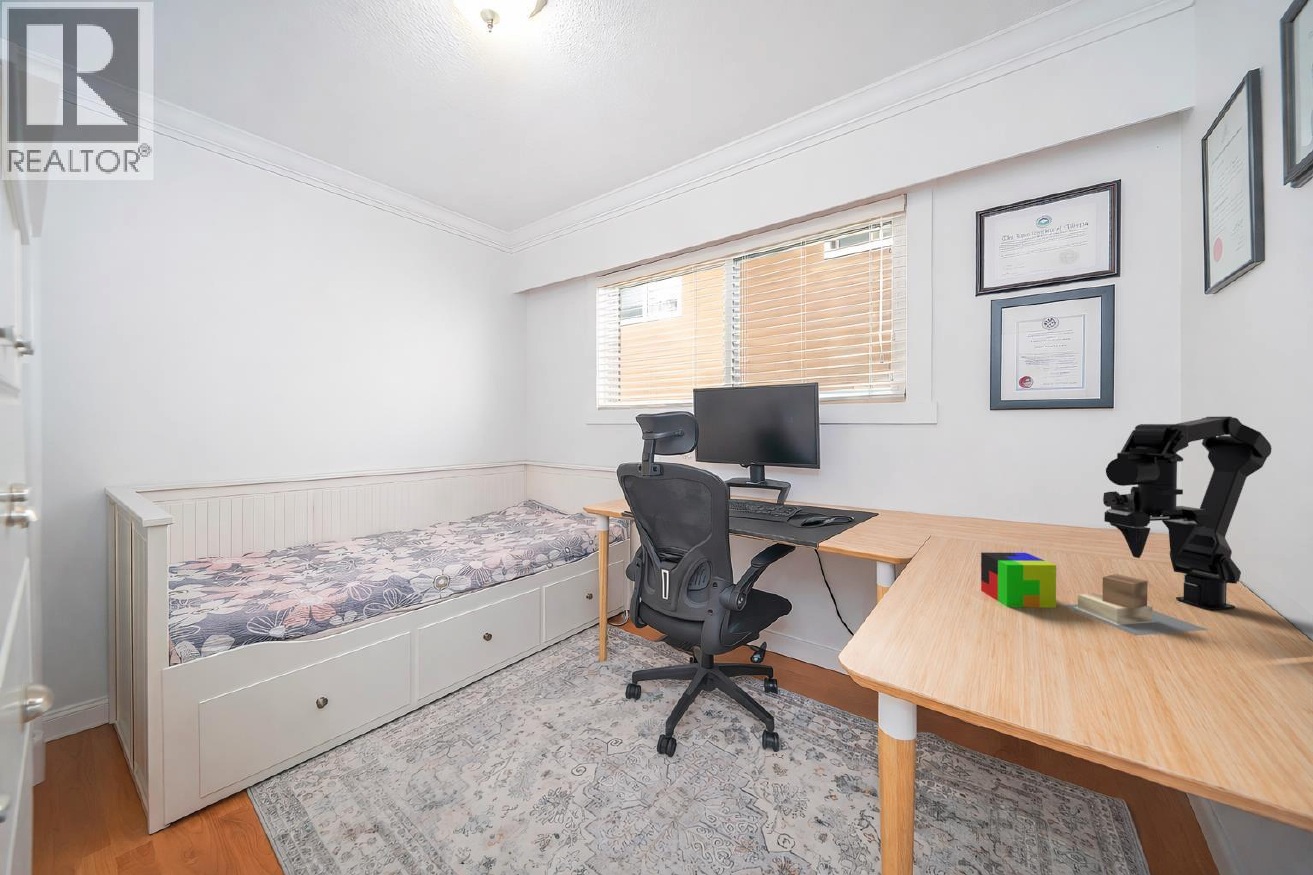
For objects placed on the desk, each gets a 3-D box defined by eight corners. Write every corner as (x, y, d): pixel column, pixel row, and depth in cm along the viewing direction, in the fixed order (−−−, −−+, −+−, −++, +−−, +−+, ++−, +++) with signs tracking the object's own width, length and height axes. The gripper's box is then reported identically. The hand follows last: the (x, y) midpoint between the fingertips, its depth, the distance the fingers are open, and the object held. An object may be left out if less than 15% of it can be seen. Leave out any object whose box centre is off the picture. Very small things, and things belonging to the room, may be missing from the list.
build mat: (1125, 603, 108) (1125, 600, 108) (1209, 632, 93) (1209, 629, 93) (1060, 607, 106) (1060, 605, 106) (1135, 638, 92) (1135, 635, 92)
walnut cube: (1116, 597, 103) (1116, 573, 102) (1147, 605, 98) (1147, 580, 98) (1102, 600, 101) (1102, 576, 101) (1133, 609, 96) (1133, 584, 96)
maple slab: (1110, 605, 105) (1111, 592, 105) (1152, 620, 98) (1152, 606, 97) (1077, 608, 105) (1078, 594, 105) (1116, 623, 97) (1117, 608, 97)
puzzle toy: (1025, 594, 115) (1025, 552, 115) (1055, 610, 105) (1056, 565, 105) (981, 593, 116) (981, 552, 116) (1006, 609, 106) (1007, 564, 106)
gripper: (1153, 477, 111) (1151, 544, 112) (1079, 480, 109) (1079, 548, 110) (1213, 483, 100) (1212, 558, 101) (1133, 486, 98) (1132, 562, 99)
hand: (1155, 556), depth 103 cm, fingers open, 9 cm apart
